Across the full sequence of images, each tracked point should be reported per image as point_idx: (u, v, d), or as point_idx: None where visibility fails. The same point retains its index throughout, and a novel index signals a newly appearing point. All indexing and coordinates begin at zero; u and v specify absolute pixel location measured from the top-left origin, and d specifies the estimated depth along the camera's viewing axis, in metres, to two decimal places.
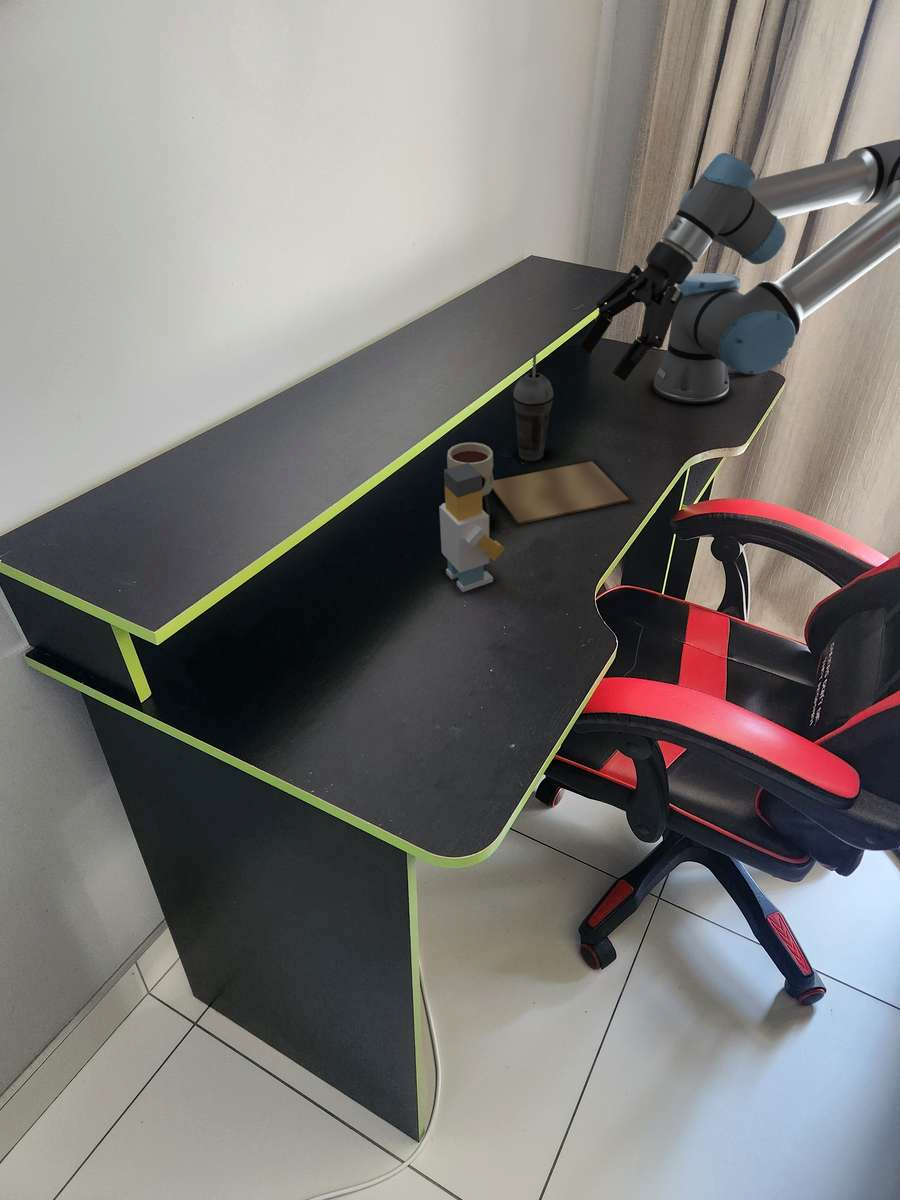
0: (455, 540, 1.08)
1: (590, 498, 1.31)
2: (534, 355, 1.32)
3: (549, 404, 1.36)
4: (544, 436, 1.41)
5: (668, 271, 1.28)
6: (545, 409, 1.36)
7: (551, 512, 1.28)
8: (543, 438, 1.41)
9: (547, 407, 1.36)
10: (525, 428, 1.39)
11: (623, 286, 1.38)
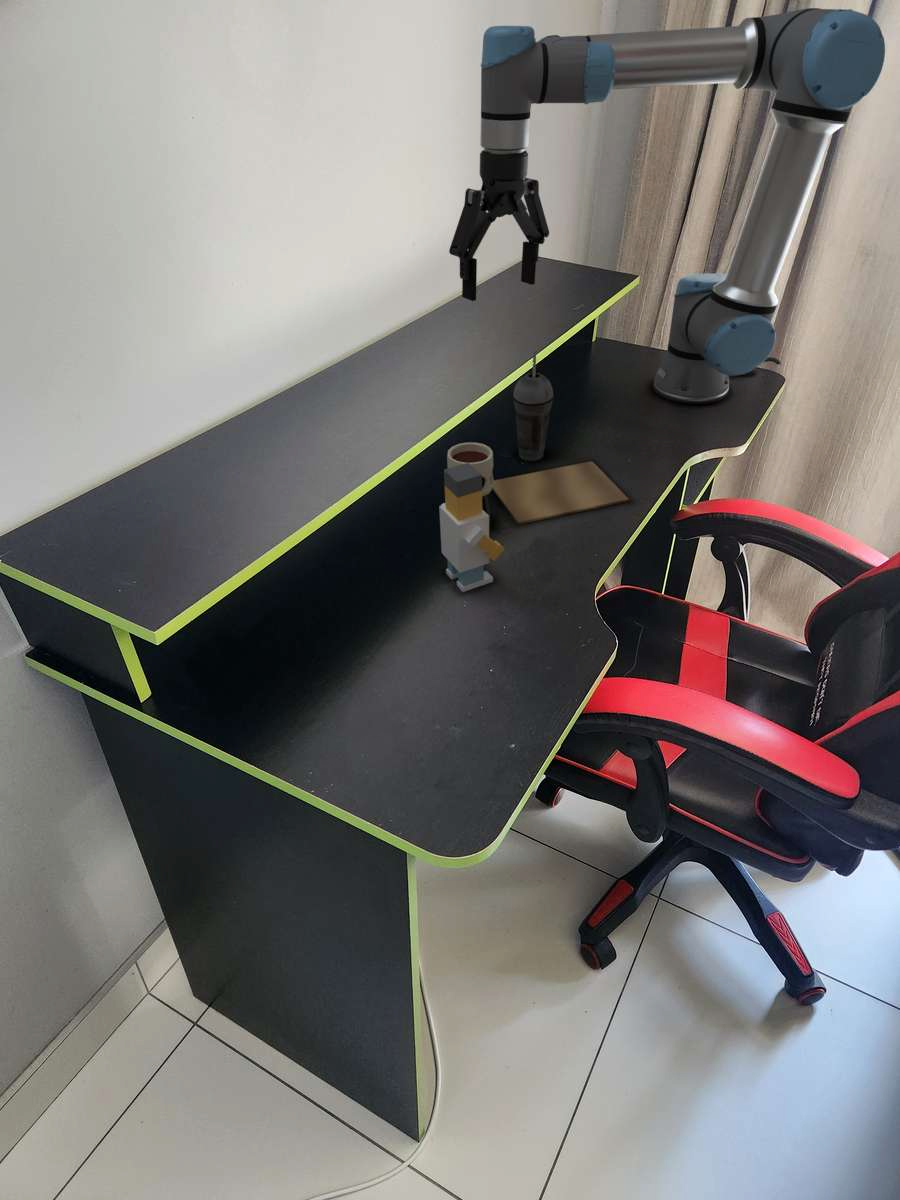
0: (455, 540, 1.08)
1: (590, 498, 1.31)
2: (534, 355, 1.32)
3: (549, 404, 1.36)
4: (544, 436, 1.41)
5: (480, 175, 1.22)
6: (545, 409, 1.36)
7: (551, 512, 1.28)
8: (543, 438, 1.41)
9: (547, 407, 1.36)
10: (525, 428, 1.39)
11: (527, 204, 1.30)
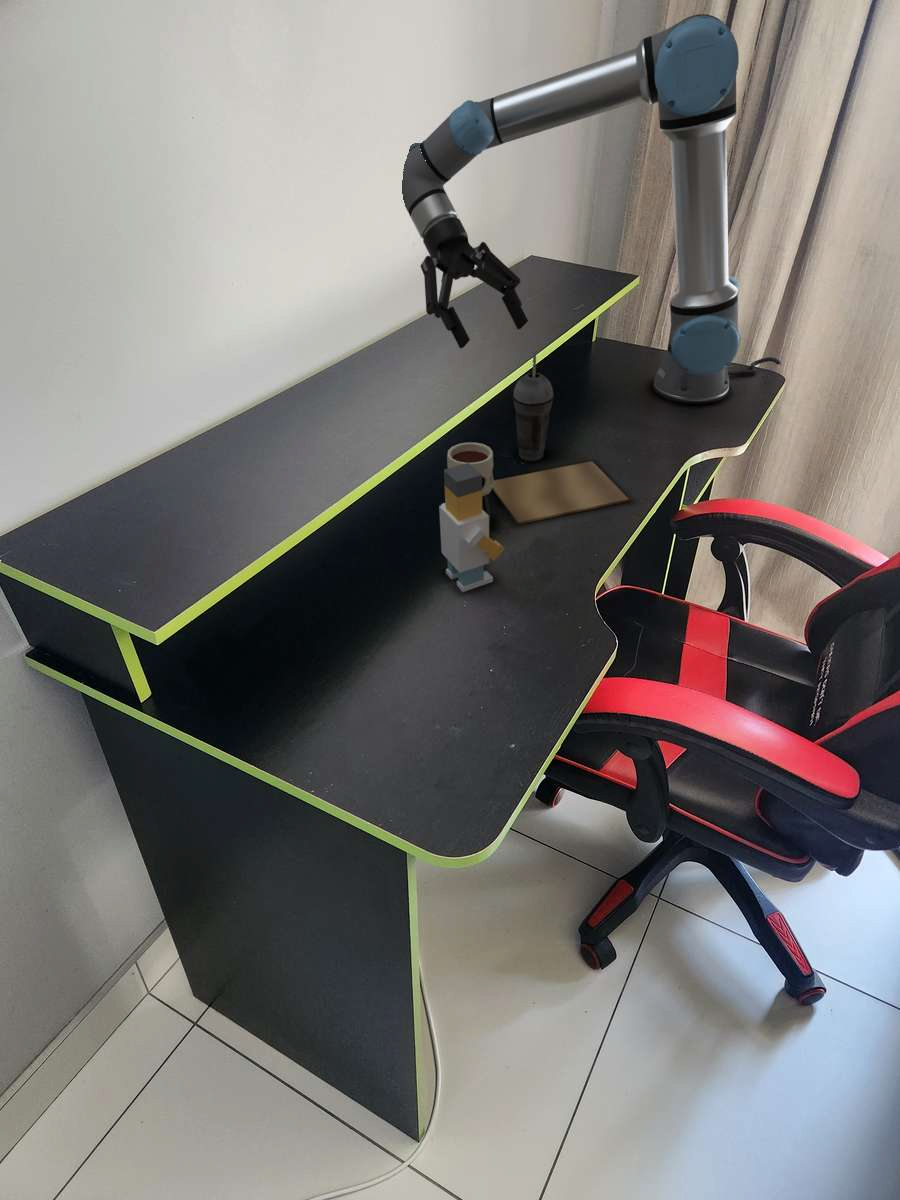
0: (455, 540, 1.08)
1: (590, 498, 1.31)
2: (534, 355, 1.32)
3: (549, 404, 1.36)
4: (544, 436, 1.41)
5: (430, 254, 1.39)
6: (545, 409, 1.36)
7: (551, 512, 1.28)
8: (543, 438, 1.41)
9: (547, 407, 1.36)
10: (525, 428, 1.39)
11: (488, 267, 1.43)
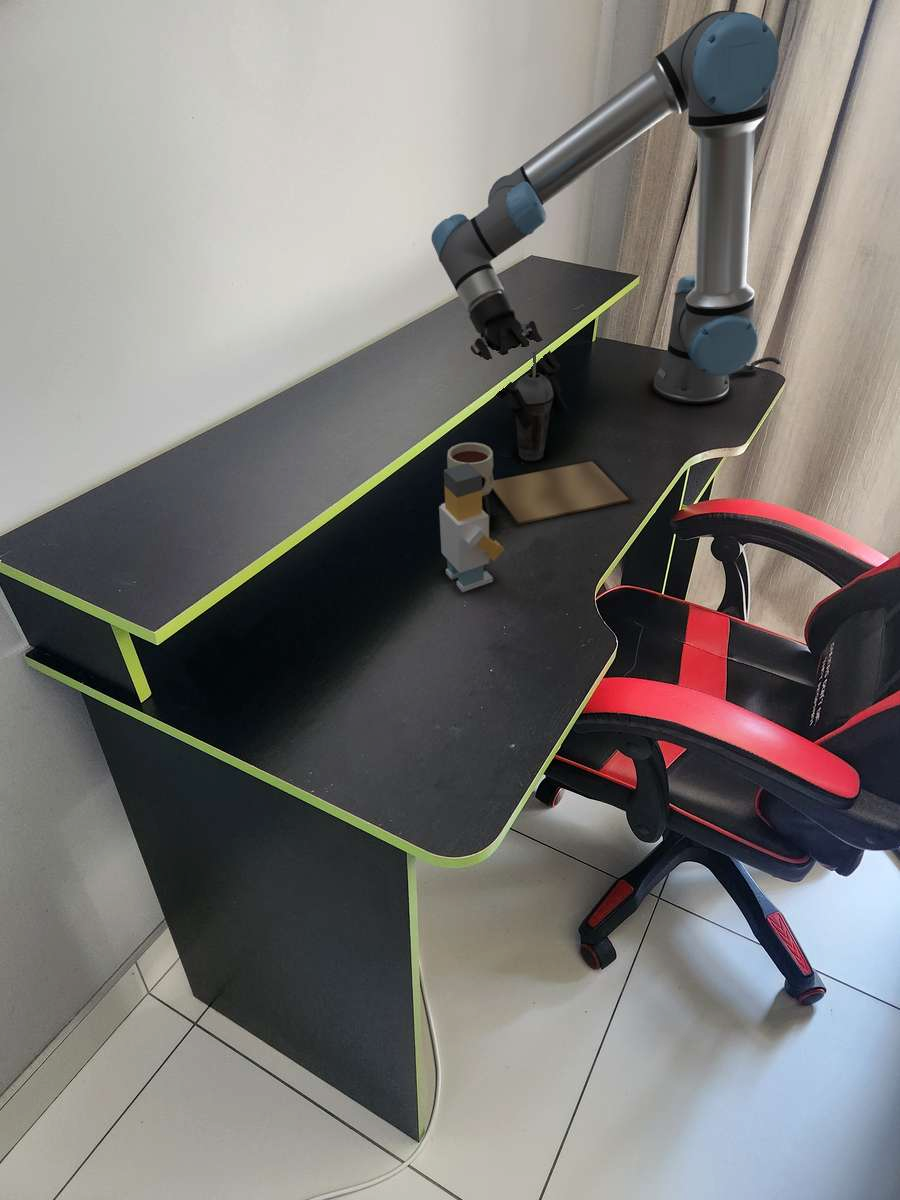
0: (455, 540, 1.08)
1: (590, 498, 1.31)
2: (534, 355, 1.32)
3: (549, 404, 1.36)
4: (544, 436, 1.41)
5: (476, 330, 1.37)
6: (545, 409, 1.36)
7: (551, 512, 1.28)
8: (543, 438, 1.41)
9: (547, 407, 1.36)
10: None
11: None
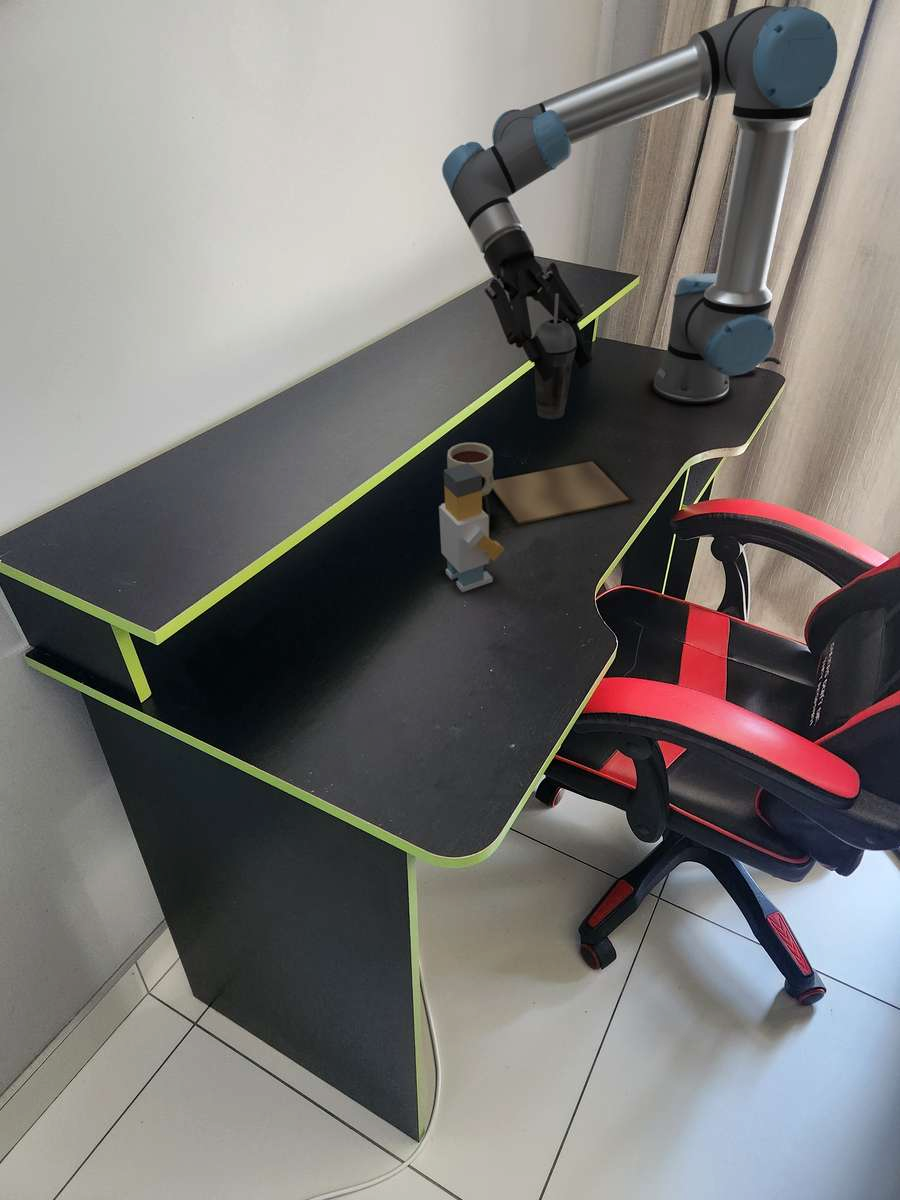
0: (455, 540, 1.08)
1: (590, 498, 1.31)
2: (556, 297, 1.18)
3: (572, 354, 1.23)
4: (566, 391, 1.27)
5: (491, 271, 1.24)
6: (567, 360, 1.23)
7: (551, 512, 1.28)
8: (564, 393, 1.27)
9: (570, 357, 1.23)
10: None
11: (553, 292, 1.27)
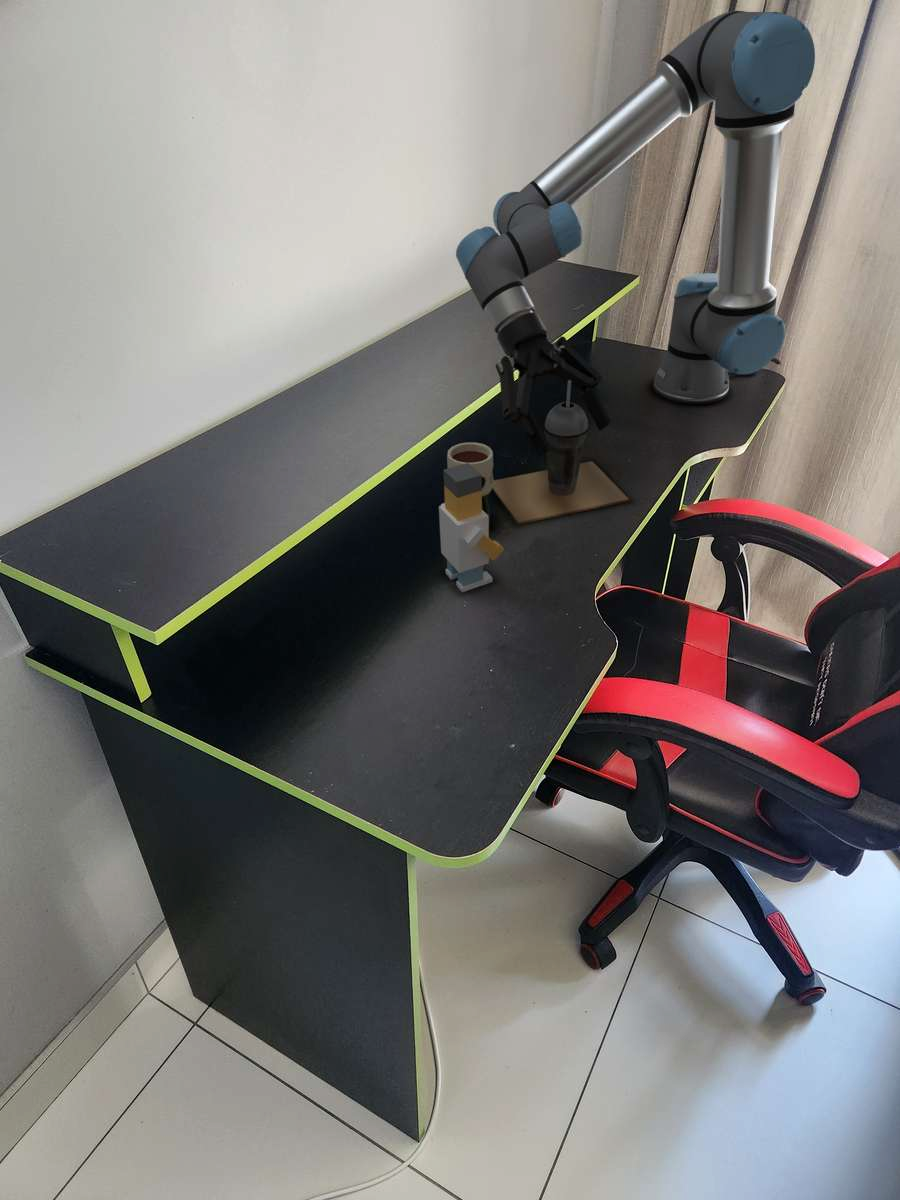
0: (455, 540, 1.08)
1: (590, 498, 1.31)
2: (569, 384, 1.21)
3: (584, 436, 1.26)
4: (577, 469, 1.30)
5: (505, 352, 1.26)
6: (579, 442, 1.26)
7: (551, 512, 1.28)
8: (576, 471, 1.30)
9: (581, 439, 1.26)
10: (557, 461, 1.28)
11: (567, 363, 1.30)
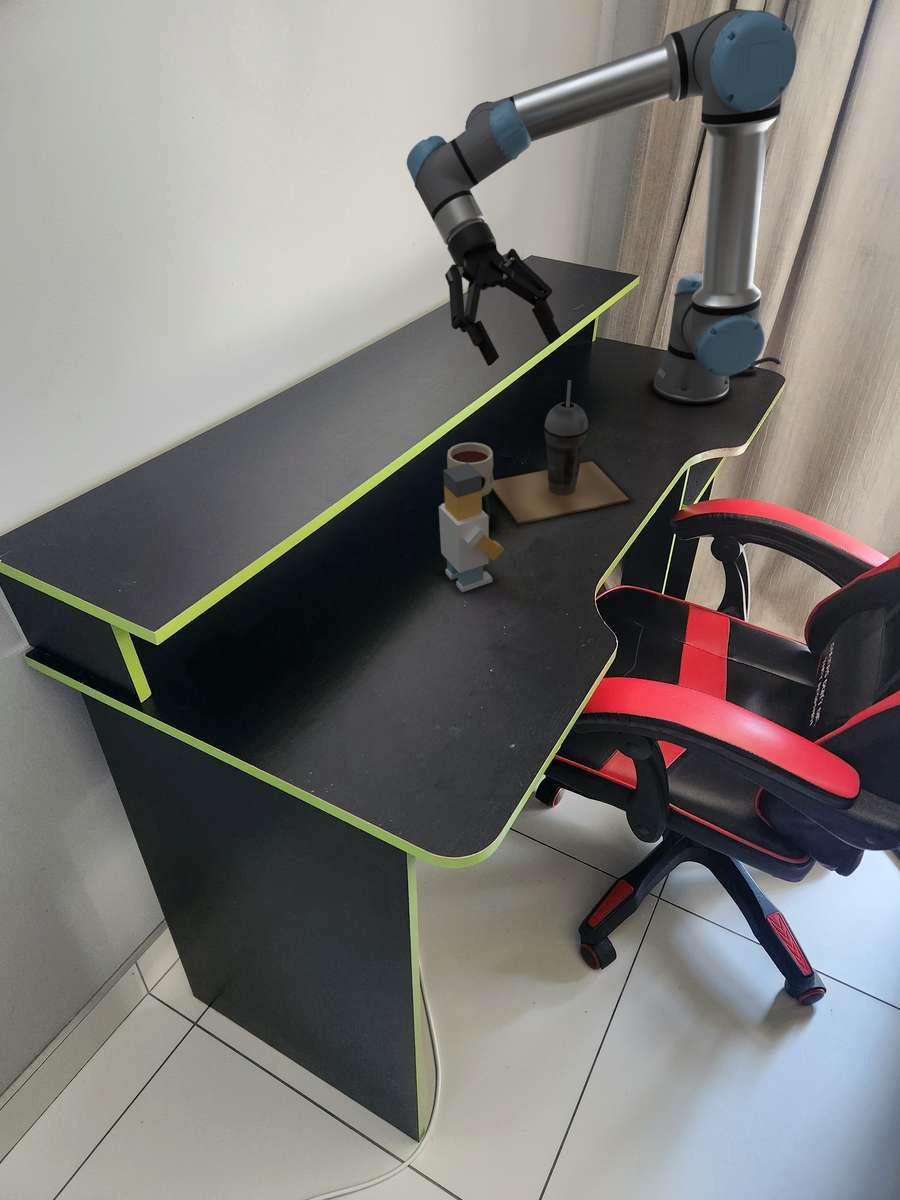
0: (455, 541, 1.08)
1: (590, 498, 1.31)
2: (569, 384, 1.21)
3: (584, 436, 1.26)
4: (577, 469, 1.30)
5: (455, 263, 1.27)
6: (579, 442, 1.26)
7: (551, 512, 1.28)
8: (576, 471, 1.30)
9: (581, 439, 1.26)
10: (557, 461, 1.28)
11: (518, 276, 1.31)
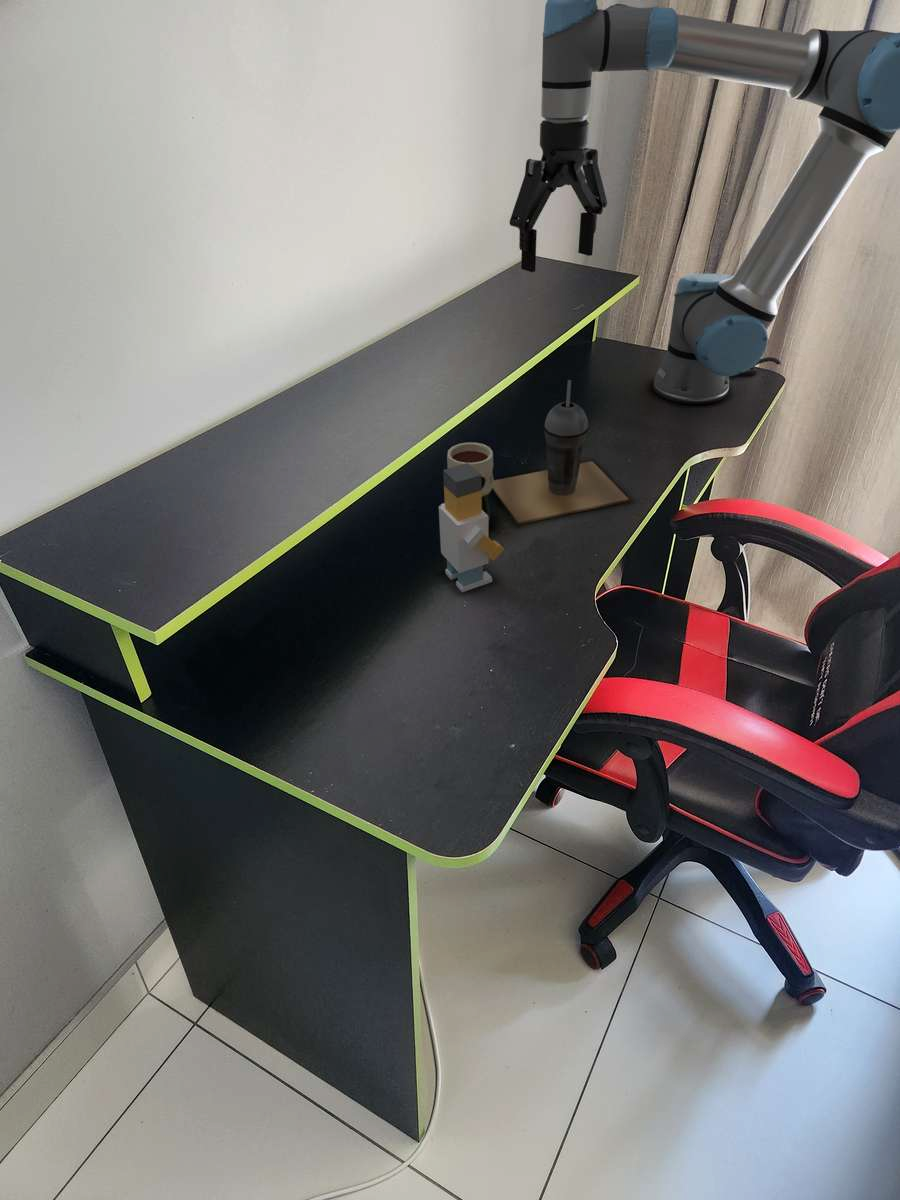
0: (454, 541, 1.08)
1: (590, 498, 1.31)
2: (569, 384, 1.21)
3: (584, 436, 1.26)
4: (577, 469, 1.30)
5: (540, 146, 1.23)
6: (579, 442, 1.26)
7: (551, 512, 1.28)
8: (576, 471, 1.30)
9: (581, 439, 1.26)
10: (557, 461, 1.28)
11: (586, 175, 1.30)
